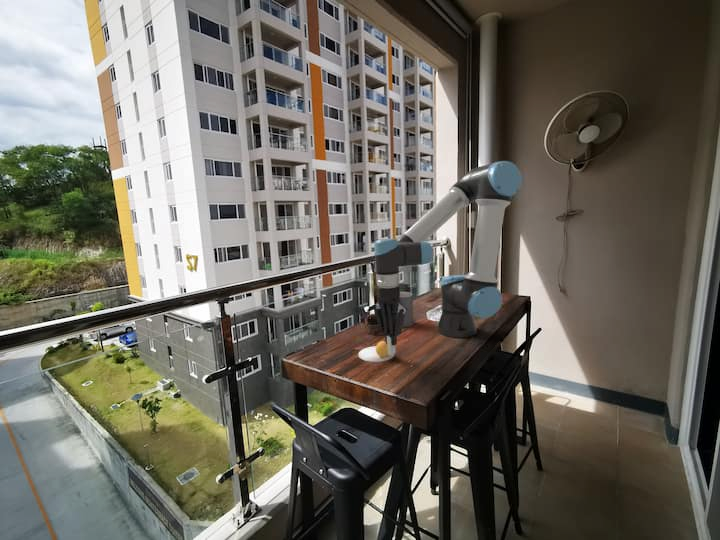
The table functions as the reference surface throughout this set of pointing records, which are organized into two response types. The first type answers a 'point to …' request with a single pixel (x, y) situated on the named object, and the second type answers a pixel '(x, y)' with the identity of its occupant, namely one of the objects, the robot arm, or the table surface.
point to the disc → (372, 355)
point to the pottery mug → (370, 322)
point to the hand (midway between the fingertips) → (391, 353)
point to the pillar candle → (407, 302)
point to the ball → (382, 349)
